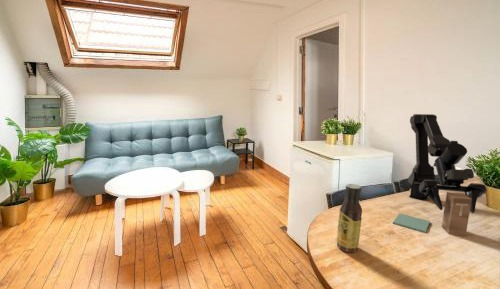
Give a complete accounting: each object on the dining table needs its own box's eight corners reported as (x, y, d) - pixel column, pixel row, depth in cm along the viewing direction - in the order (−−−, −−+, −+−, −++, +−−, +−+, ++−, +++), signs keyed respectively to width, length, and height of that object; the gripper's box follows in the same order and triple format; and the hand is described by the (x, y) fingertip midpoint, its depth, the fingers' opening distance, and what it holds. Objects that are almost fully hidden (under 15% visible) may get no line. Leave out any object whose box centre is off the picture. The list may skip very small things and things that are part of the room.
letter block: (441, 226, 93) (446, 192, 91) (458, 228, 92) (463, 193, 90) (448, 234, 88) (454, 197, 86) (465, 236, 87) (472, 199, 85)
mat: (392, 223, 95) (392, 221, 95) (399, 214, 103) (399, 213, 103) (425, 232, 89) (425, 231, 89) (429, 222, 96) (430, 221, 96)
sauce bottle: (333, 242, 82) (337, 181, 79) (352, 241, 83) (357, 181, 79) (342, 254, 76) (347, 189, 72) (362, 253, 76) (368, 188, 73)
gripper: (425, 157, 93) (434, 198, 84) (488, 161, 88) (504, 204, 80) (415, 173, 102) (422, 211, 93) (472, 177, 97) (485, 217, 89)
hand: (457, 211), depth 88 cm, fingers open, 9 cm apart
